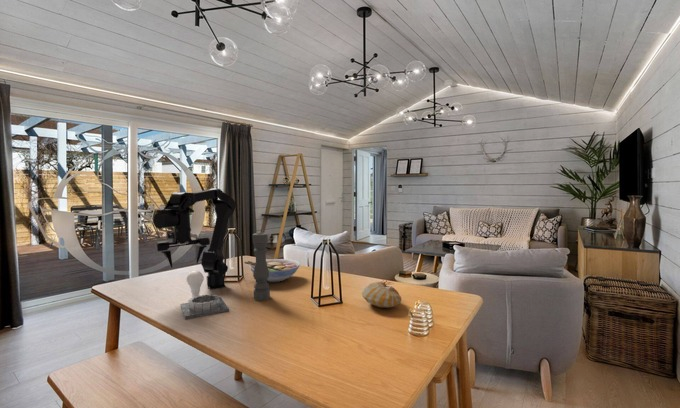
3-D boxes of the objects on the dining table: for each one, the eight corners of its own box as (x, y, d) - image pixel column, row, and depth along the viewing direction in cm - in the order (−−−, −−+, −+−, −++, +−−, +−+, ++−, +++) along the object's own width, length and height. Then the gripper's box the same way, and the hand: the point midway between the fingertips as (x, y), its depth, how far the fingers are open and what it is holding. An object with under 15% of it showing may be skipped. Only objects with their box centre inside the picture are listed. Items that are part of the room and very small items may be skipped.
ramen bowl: (312, 279, 158) (312, 261, 157) (272, 291, 141) (271, 272, 140) (278, 270, 174) (277, 255, 174) (238, 280, 157) (237, 263, 157)
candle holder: (250, 299, 131) (248, 234, 130) (260, 294, 137) (258, 232, 135) (264, 301, 129) (262, 235, 127) (273, 296, 135) (271, 233, 133)
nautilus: (376, 293, 138) (412, 301, 131) (352, 307, 119) (393, 317, 112) (377, 273, 138) (414, 280, 131) (354, 284, 119) (395, 293, 112)
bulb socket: (220, 299, 132) (220, 290, 132) (228, 310, 120) (228, 301, 120) (180, 306, 125) (180, 297, 125) (185, 319, 113) (184, 309, 113)
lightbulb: (187, 302, 129) (186, 273, 128) (186, 298, 134) (185, 270, 134) (205, 299, 132) (204, 271, 131) (203, 295, 137) (202, 268, 137)
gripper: (201, 221, 144) (202, 258, 145) (150, 225, 132) (153, 265, 133) (209, 223, 135) (211, 262, 136) (156, 228, 123) (159, 271, 125)
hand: (184, 265), depth 133 cm, fingers open, 9 cm apart
